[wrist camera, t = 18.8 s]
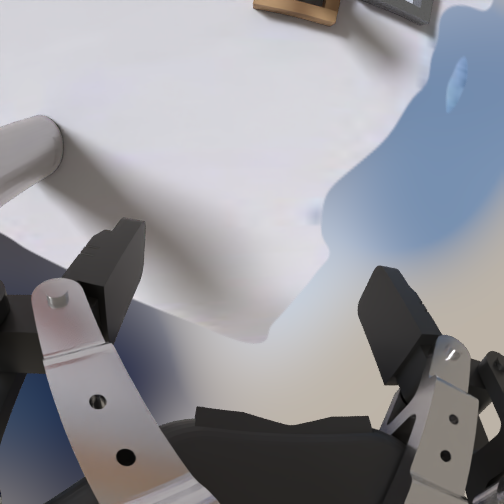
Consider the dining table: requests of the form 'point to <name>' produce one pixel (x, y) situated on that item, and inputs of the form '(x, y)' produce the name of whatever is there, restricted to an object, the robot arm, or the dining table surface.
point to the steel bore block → (407, 9)
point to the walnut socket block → (302, 9)
